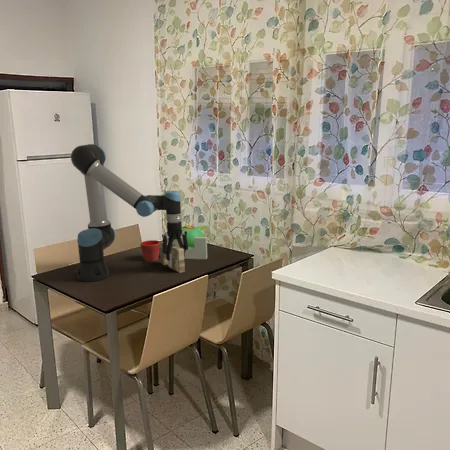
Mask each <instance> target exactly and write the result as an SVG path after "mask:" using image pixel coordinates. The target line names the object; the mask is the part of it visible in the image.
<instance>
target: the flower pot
mask: <svg viewBox="0 0 450 450" xmlns="http://www.w3.org/2000/svg"><path fill="white" fill-rule="evenodd" d="M160 242H161V241H159V240H155V239H154V240H153V239H151V240H145V241H141V242H140V247H141V253H142V257H143V260H144V261H146V262H154V261H158V259H159V258H160V257H159V256H160Z"/></svg>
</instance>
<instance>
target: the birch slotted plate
mask: <svg viewBox="0 0 450 450" xmlns="http://www.w3.org/2000/svg"><path fill="white" fill-rule="evenodd" d="M167 245H168V242H167ZM162 251H163V241H160V248H159V254H160V263H161V265H163V266H165V265H168V260H167V259H166V254H164V253H163V252H162ZM170 254H171V256H172V267H170V266H168V268H169V269H172V271H175V272H176V273H184V272H186V269H185V268H186V267H185V266H186V264H185V259H184V249H183V248H180V247H178V246H175V245H173V244H172V248H171V252H170Z"/></svg>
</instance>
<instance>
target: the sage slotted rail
mask: <svg viewBox="0 0 450 450" xmlns="http://www.w3.org/2000/svg"><path fill="white" fill-rule="evenodd" d="M167 237H168V236H167ZM168 239H169V237H168V238H167V242H168ZM181 240H182V243H183V238H182V237H181ZM172 244H173V245H175V246H178V247H180V246H179V244H178V241H177V239H175V240H174V241H173V243H172ZM185 259H186V260H188V259H189V260H207V259H208V238H207V236H204V237H195V238H194V247H188V250H186V252H185V257H184V260H185Z"/></svg>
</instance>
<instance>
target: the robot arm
mask: <svg viewBox="0 0 450 450" xmlns="http://www.w3.org/2000/svg"><path fill="white" fill-rule="evenodd" d="M106 159H107V156H106V152H105V150H104V149H103V148H102V146H99V145H98V144H93V143H89V144H83V145H82V144H81V145H78V146H75V148H74V149H72V151H71V154H70V161H71V163H72V165H73V167H75V168H76V170H78V171H79V172H80V173H81V175H83V176H84V183H85V191H86V192H85V193H86V199H87V208H88V213H89V223H88V224H87V228H86V229H84V230H81V231H79V233H78V234H77V247H78V257H79V266H78V270H77V279H78V280H79V281H81V282H96V281H97V282H98V281H102V280H105V279H107V278H108V277H109V276H110V273H109V272H110V271H109V268H108V266H107V264H106V262H105V257H104V256H105V254H104V250H106V249H107V248H109V247H110V246H112V244H113V243H114V241H115V238H116V232H115V229H114V227H113V228H112V223H111V221H110V220H108V213H107V207H106V205H107V204H106V198H105V190H104V187H105V188H106V189H107V190H108V191H110V192H111V193H113V194H114V195H116V196H117V197H118V198H120V199H122V200H123V201H124V202H125V203H127V204H128V205H129V206H131V207H132V208H134V209H135V210H136V214H137V215H138V216H140V217H143V218H145V217H149V216H150V215H152V214H153V213H154V212H157V211H165V215H166V216H165V217H166V219H165V220H166V231H167V232H166V233H164V234H162V235H161V238H162V242H163V251H162V252H163V253H164V254H166V259H167V260H168V264H167V266H168V267H169V266H170V267H172V256H171V254H170V252H171V248H172V243H173V241H174V240H175V239H177V241H178V244H179V246H180V248H183V249H184V257H185V252H186V250H188V243H187V231H182V229H181V228H182V227H183V225H182V224H183V223H182V206H181V205H182V204H181V203H182V202H181V201H182V200H181V193H180V192H179V190H167V191H165V192H164V194H163V195H162V194H160V195H157V194H155V195H154V194H151V195H150V194H148V195H144V194H143V193H141V192H140V191H138V189H136V188H134V186H133V187H132V186H131V185H130V184H129V183H128V182H126V181H125V180H124V179H123V178H120V177H119V176H118V175H116V174H115V173H113V171H111V170H110V169H108V168H107V167H106V166H105V165H104V164H105V163H106ZM181 234H182V238H183V243H182V240H181ZM168 237H169V239H168V245H167V238H168Z"/></svg>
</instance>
